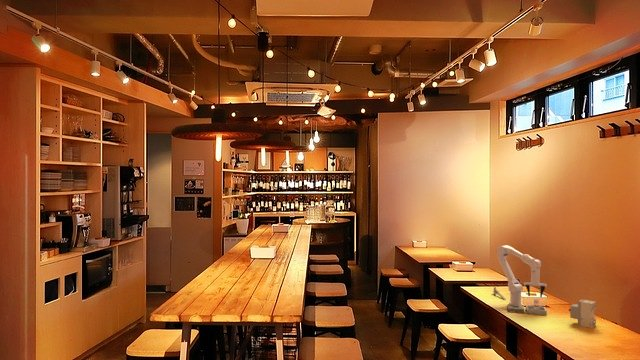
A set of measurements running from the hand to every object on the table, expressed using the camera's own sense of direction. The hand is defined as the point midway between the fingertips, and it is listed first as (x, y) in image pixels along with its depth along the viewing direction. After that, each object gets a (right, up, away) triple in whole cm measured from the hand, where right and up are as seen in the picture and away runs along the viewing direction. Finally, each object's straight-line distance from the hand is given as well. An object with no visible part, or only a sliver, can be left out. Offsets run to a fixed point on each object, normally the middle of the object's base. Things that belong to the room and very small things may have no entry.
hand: (535, 296), depth 337 cm
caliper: (-11, -10, +38) cm, 41 cm away
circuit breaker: (+14, -10, -34) cm, 38 cm away
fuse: (-2, -9, -7) cm, 11 cm away
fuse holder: (-15, -9, -3) cm, 18 cm away
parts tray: (-2, -9, -7) cm, 12 cm away
